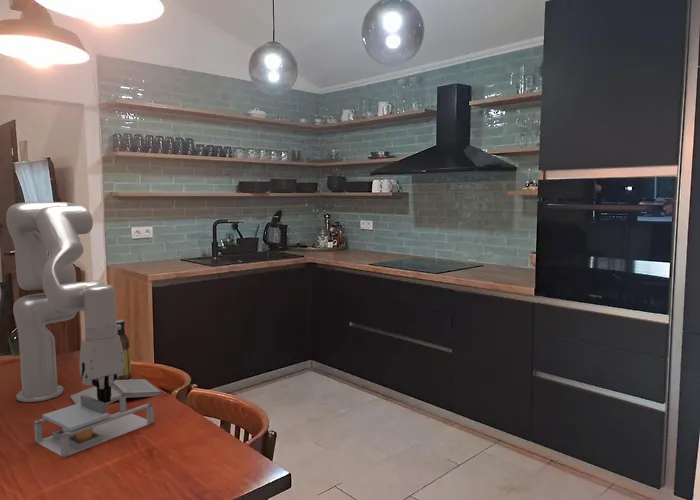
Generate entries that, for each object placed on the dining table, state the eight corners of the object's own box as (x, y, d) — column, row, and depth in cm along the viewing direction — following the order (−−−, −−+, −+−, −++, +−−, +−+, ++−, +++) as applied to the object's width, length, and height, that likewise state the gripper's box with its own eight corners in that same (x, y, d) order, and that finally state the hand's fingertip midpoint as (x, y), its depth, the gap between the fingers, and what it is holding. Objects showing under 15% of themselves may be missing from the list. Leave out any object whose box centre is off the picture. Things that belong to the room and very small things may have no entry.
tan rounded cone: (73, 440, 134) (73, 421, 134) (90, 436, 137) (90, 417, 136) (78, 446, 132) (78, 426, 131) (94, 442, 134) (94, 422, 134)
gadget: (81, 415, 154) (81, 403, 154) (69, 400, 165) (69, 388, 165) (161, 396, 168) (161, 385, 168) (145, 383, 180) (144, 373, 179)
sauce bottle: (121, 373, 188) (118, 317, 186) (135, 375, 186) (133, 319, 184) (106, 379, 182) (104, 321, 180) (121, 382, 180) (119, 323, 178)
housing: (35, 444, 134) (33, 421, 134) (124, 413, 154) (123, 392, 153) (64, 460, 126) (62, 435, 126) (153, 425, 146) (152, 403, 145)
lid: (42, 417, 135) (42, 405, 135) (82, 405, 143) (81, 393, 143) (70, 431, 127) (69, 418, 127) (110, 417, 136) (109, 404, 135)
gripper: (120, 325, 148) (123, 390, 150) (64, 336, 136) (68, 407, 138) (135, 329, 143) (138, 396, 145) (80, 341, 131) (83, 414, 133)
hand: (104, 401), depth 141 cm, fingers closed
